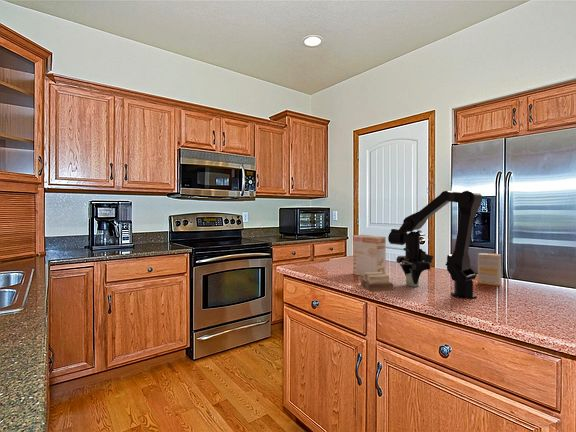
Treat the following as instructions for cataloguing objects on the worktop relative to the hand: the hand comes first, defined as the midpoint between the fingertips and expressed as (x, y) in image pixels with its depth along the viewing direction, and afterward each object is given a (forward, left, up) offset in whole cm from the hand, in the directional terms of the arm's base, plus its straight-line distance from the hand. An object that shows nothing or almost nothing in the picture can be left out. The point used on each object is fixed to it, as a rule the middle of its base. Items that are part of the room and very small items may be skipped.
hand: (412, 282), depth 143 cm
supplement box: (-2, -34, -2) cm, 34 cm away
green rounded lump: (0, 0, -1) cm, 1 cm away
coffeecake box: (+22, +11, -2) cm, 25 cm away
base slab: (0, +16, -2) cm, 16 cm away
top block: (0, +16, +1) cm, 16 cm away
